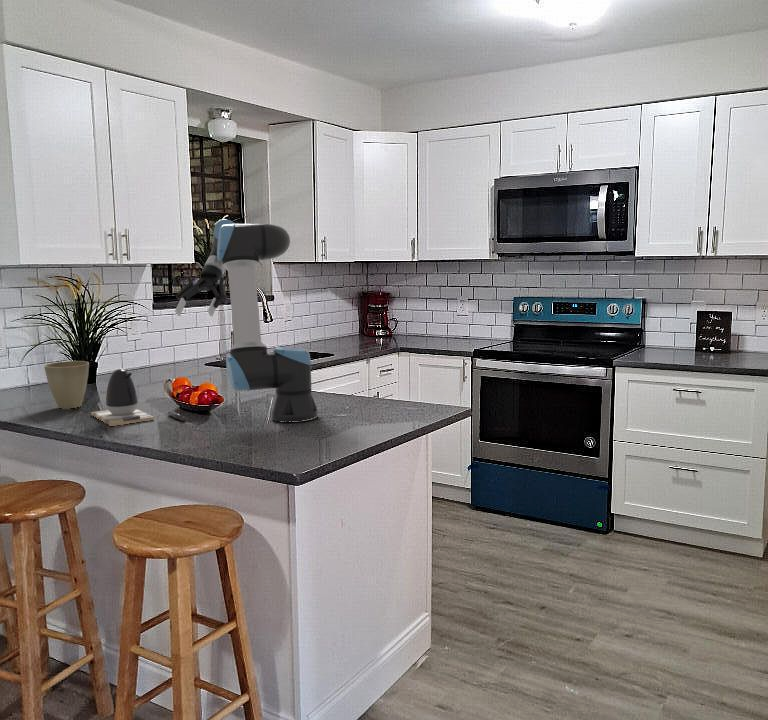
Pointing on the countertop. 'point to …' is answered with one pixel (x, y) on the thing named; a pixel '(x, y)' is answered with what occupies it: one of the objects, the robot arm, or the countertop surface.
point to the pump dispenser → (121, 393)
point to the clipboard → (121, 417)
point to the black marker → (177, 416)
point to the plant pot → (67, 382)
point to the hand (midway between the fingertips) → (193, 313)
